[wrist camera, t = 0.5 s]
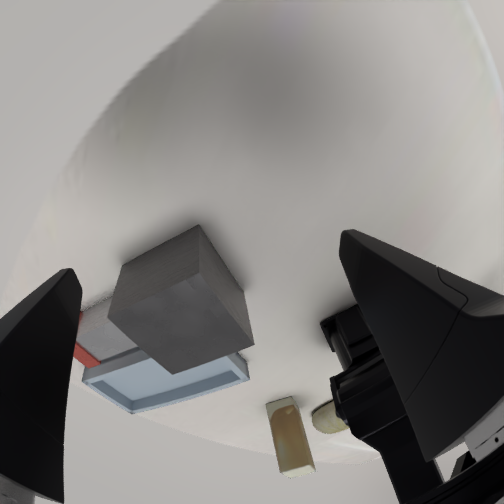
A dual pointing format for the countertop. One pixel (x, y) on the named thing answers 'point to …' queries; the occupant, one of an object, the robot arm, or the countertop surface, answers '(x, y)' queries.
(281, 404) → the skincare box
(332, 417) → the sea urchin shell
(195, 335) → the block
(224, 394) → the countertop surface
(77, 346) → the pin
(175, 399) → the tray
